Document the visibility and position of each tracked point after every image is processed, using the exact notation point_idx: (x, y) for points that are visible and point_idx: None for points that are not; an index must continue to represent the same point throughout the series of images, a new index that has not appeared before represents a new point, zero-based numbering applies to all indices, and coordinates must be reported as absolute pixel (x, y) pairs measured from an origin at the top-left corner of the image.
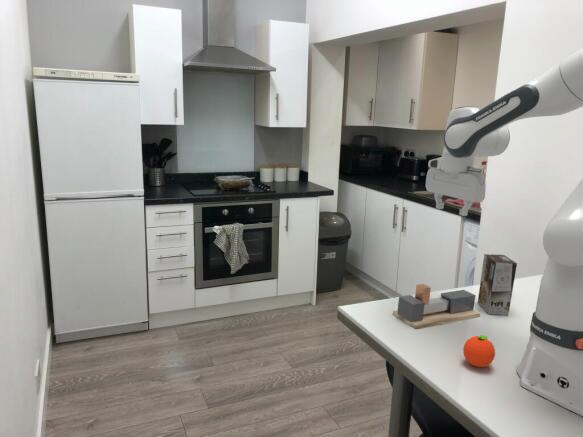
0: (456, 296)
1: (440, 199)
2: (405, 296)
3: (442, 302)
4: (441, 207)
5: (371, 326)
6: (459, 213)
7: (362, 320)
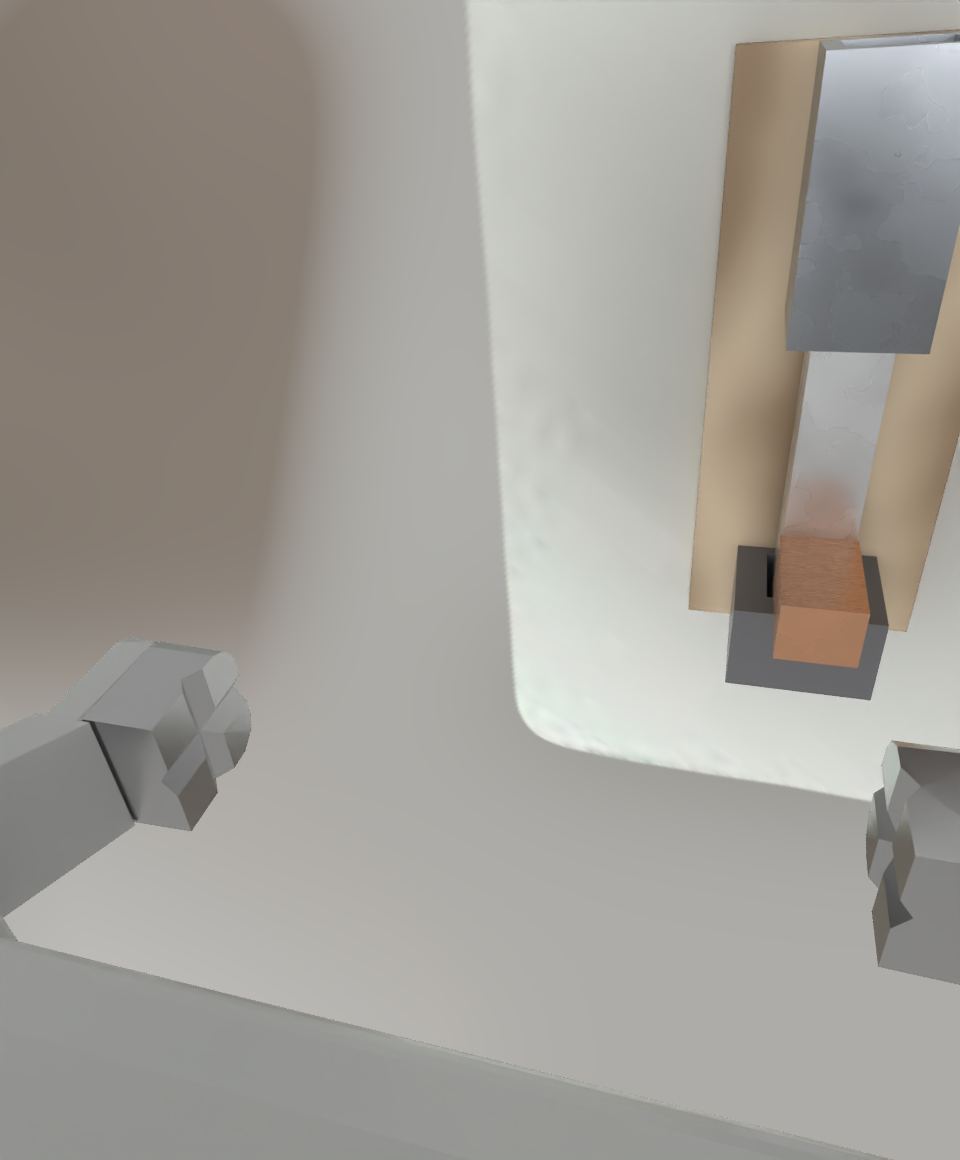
0: (909, 275)
1: (17, 796)
2: (742, 652)
3: (880, 416)
4: (216, 702)
5: (759, 757)
6: (877, 861)
7: (686, 748)
